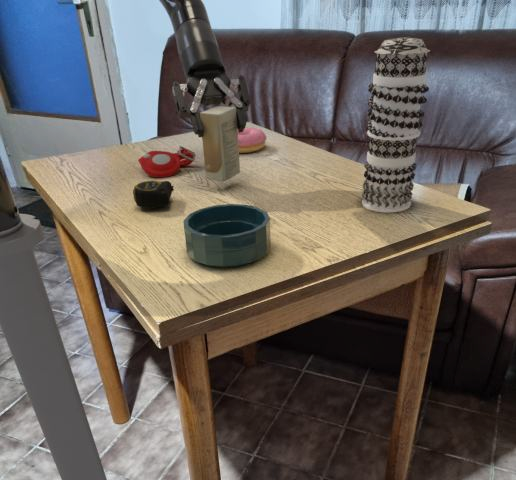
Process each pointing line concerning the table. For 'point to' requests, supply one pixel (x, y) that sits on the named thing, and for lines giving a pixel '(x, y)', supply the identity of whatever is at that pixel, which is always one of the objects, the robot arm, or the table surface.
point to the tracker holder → (166, 162)
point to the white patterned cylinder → (394, 123)
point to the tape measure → (152, 194)
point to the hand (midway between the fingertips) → (221, 132)
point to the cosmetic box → (220, 143)
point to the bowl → (227, 235)
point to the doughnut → (251, 140)
